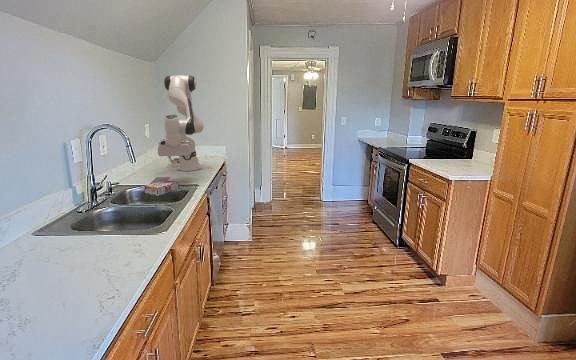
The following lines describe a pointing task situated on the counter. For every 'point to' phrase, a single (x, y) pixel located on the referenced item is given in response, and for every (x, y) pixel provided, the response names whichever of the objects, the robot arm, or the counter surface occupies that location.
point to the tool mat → (159, 179)
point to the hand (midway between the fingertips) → (175, 162)
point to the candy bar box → (161, 187)
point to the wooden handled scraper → (173, 163)
